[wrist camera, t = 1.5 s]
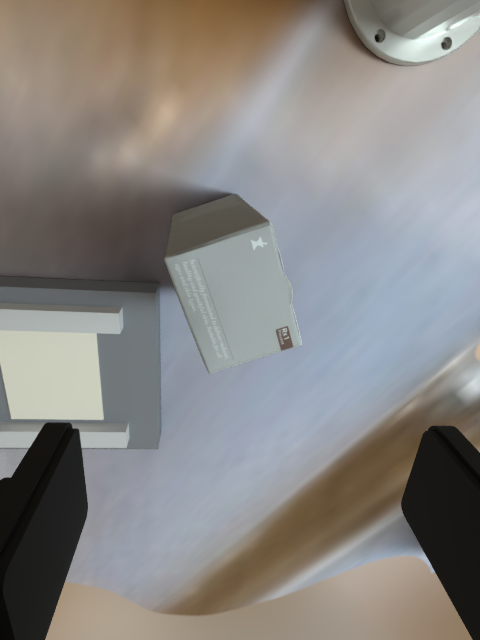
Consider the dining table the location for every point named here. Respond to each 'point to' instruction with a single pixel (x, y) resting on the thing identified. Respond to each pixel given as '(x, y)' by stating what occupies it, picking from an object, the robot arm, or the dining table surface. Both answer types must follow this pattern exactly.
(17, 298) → the panel
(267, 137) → the dining table surface
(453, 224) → the dining table surface
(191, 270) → the skincare box
